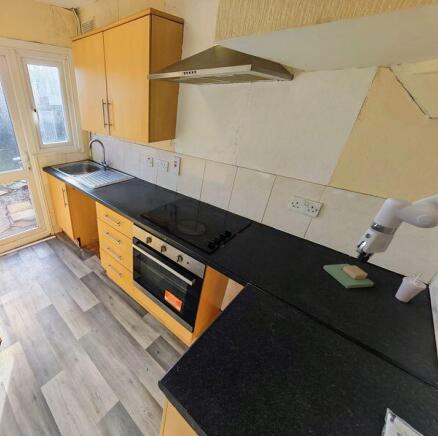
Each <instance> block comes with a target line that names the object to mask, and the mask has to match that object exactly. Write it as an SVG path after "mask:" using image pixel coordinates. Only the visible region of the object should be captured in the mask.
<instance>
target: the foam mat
mask: <svg viewBox="0 0 438 436" xmlns="http://www.w3.org/2000/svg"><path fill="white" fill-rule="evenodd" d="M344 266H351V264H349V263H340V264H326V265H323V268H322V269H324V271H326V272H327V273H328V274H329V275H330V276H332V278H334V279H335V280H336V281H337V282H339V283H340V284H341V285H342V286H343V287H344V288H346V289H355V288H365V287H366V288H367V287H373V286H374V284H375V282H373V281H372V280H370V279H369V278H365V279H358V280H354V279H353V278H351V277H350V276H349V275H347V274H346V273H345V272H344V271H342V270H343V268H344Z"/></svg>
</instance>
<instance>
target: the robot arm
mask: <svg viewBox="0 0 438 436" xmlns="http://www.w3.org/2000/svg"><path fill="white" fill-rule="evenodd" d="M403 222H404V223H406V224H409V225H411V226H414V227H416V228H421V229H432V228H435V227H438V194H435V195H432V196H428V197H424V198H421V199H418V200H415V201H413V202H411V201H409V200H407V199H403V198H398V197H389V198H387V199H386V200H385V201H384V202H383V204H382V205H381V207H380V209H379V211H378V212H377V214H376V215H375V217H374V219H373V220H372V222H371V224H370V225H369V228H368V229H367V230H366V231H365V232H364V233H363V234H362V236H361V237H360V239H359V241H358V242H357V244H356V248H357V249H355V252H356V253H358V256H357V257H356V259H355V260H356V261H357V262H358V263H359V264H361V265H366V264H367V263H368V261H369V260H370V258H372V257H373V256H374V255H375V254H382V253H385V252H386V251H387V249H388V248H389V246H390V244H392V241H393V239H394V237H395V234H396V232H397V230H398V229H399V228H400V226H401V225H402V223H403Z"/></svg>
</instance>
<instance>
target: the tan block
mask: <svg viewBox="0 0 438 436" xmlns="http://www.w3.org/2000/svg"><path fill="white" fill-rule="evenodd" d="M342 271H344V272H345V273H346V274H347V275H349V276H350V277H351V278H353V279H354V280H358V279H367V277H368V274H369V273H367V272H365V271H364V270H362V269H361V268H360V267H358V266H357V265H350V266H344V268H343V270H342Z"/></svg>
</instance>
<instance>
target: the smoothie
mask: <svg viewBox="0 0 438 436" xmlns="http://www.w3.org/2000/svg"><path fill="white" fill-rule="evenodd" d="M422 275H423V272H420V273H419V274H418V275H417V276H416V277H412V276H404V277H403V278H402V282H401V284H400V286H399V288H398V289H397V291H396V294H395V295H394V297H395V298H396V299H397V300H399V301H401V302H403V303H408V302H409V301H410V300H411V299H413V298H414V297H415V296H417V295H419V293H420V292H422V291H424V290H426V289H427V285H426V283H424V282H423V281H422V280H419V278H420V277H421V276H422Z"/></svg>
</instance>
